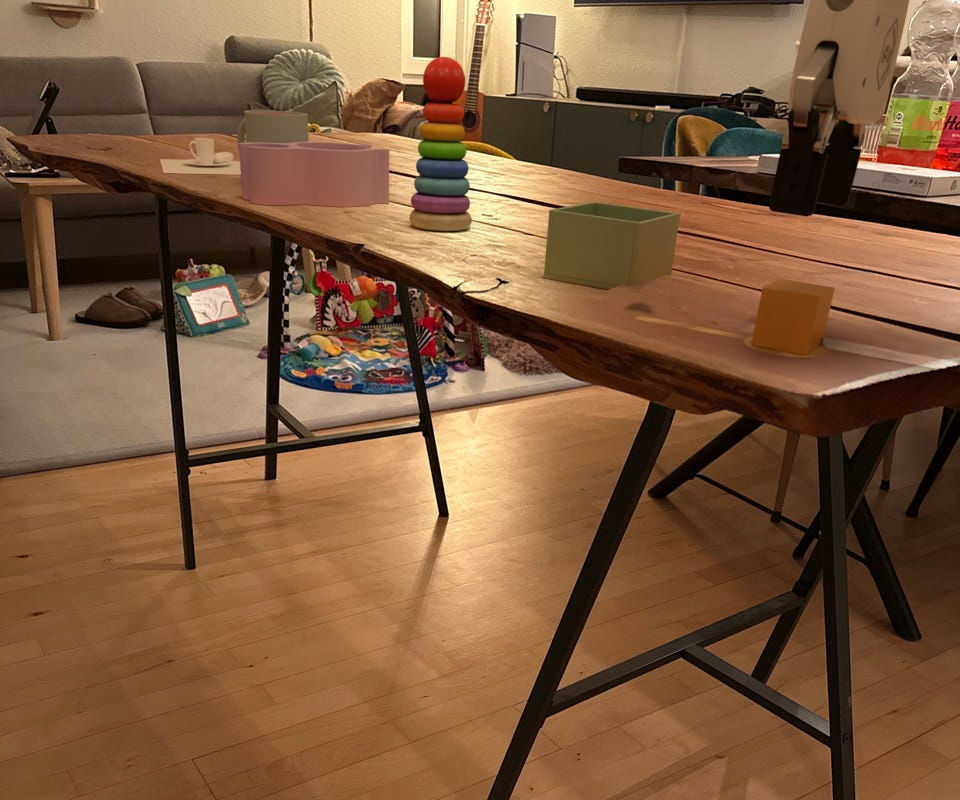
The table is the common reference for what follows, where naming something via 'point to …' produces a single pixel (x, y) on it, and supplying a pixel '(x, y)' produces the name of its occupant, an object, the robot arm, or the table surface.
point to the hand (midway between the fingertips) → (809, 207)
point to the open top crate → (609, 244)
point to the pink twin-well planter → (314, 174)
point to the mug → (273, 127)
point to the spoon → (816, 352)
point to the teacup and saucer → (203, 161)
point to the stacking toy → (442, 153)
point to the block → (792, 316)
